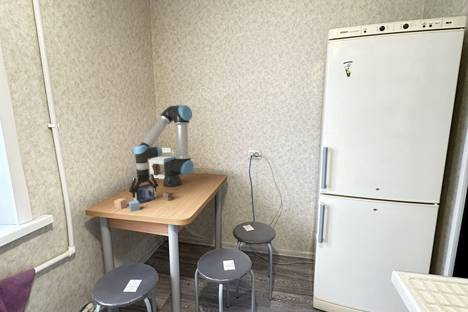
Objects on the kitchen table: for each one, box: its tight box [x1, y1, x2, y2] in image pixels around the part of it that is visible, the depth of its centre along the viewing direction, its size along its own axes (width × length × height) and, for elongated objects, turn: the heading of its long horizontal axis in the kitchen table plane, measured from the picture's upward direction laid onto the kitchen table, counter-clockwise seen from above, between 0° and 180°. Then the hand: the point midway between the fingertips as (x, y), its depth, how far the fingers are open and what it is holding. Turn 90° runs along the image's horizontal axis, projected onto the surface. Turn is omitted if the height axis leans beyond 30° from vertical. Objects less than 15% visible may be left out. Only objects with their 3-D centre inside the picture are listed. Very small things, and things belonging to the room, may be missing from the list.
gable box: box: [148, 147, 177, 180], centre depth 229 cm, size 22×13×28 cm, turn 81°
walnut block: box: [162, 191, 175, 202], centre depth 170 cm, size 5×5×5 cm
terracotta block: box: [113, 198, 128, 210], centre depth 157 cm, size 5×5×5 cm
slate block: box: [128, 200, 140, 212], centre depth 153 cm, size 5×5×5 cm
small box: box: [136, 183, 155, 205], centre depth 167 cm, size 11×6×10 cm, turn 139°
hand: (145, 199), depth 168 cm, fingers open, 12 cm apart
